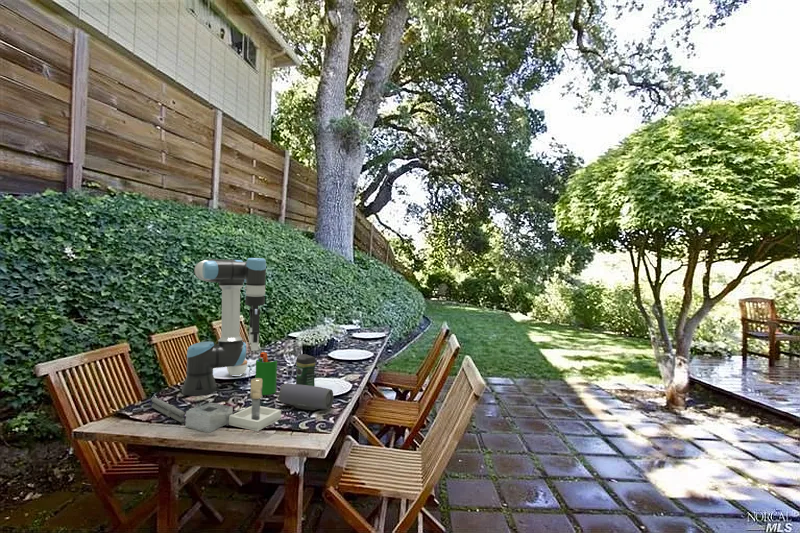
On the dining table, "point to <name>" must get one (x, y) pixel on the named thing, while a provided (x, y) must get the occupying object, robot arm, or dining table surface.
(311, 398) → the bluetooth speaker
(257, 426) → the tray
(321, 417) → the dining table surface
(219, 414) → the block
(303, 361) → the coffee jar
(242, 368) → the lidded jar
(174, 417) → the metal rod assembly
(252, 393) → the tan knobbed cylinder
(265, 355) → the green cylinder
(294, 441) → the dining table surface
